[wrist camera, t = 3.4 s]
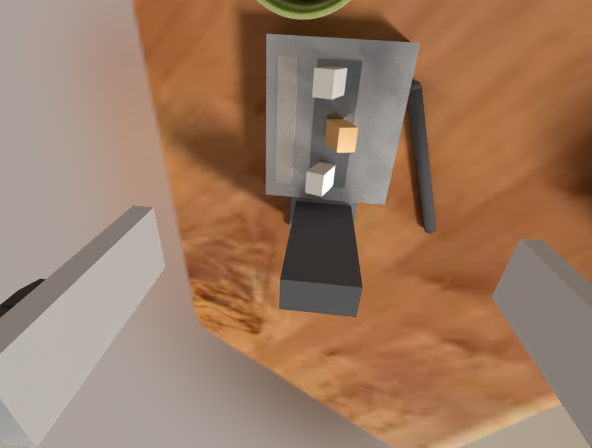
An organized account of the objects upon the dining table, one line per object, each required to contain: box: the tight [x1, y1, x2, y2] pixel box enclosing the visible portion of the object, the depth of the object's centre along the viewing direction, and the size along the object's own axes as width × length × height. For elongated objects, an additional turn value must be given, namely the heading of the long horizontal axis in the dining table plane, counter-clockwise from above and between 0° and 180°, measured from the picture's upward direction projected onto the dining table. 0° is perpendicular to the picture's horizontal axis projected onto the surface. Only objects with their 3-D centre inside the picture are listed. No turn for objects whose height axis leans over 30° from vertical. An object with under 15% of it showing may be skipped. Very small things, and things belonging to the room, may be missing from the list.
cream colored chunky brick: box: [312, 66, 347, 100], centre depth 24 cm, size 2×2×3 cm
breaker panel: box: [266, 34, 420, 205], centre depth 29 cm, size 14×12×3 cm
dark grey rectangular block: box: [279, 197, 362, 317], centre depth 29 cm, size 4×7×14 cm, turn 87°
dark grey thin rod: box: [408, 81, 436, 234], centre depth 31 cm, size 16×1×1 cm, turn 17°
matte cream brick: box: [305, 162, 336, 197], centre depth 28 cm, size 2×2×3 cm
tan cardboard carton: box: [324, 119, 358, 153], centre depth 26 cm, size 2×2×3 cm
